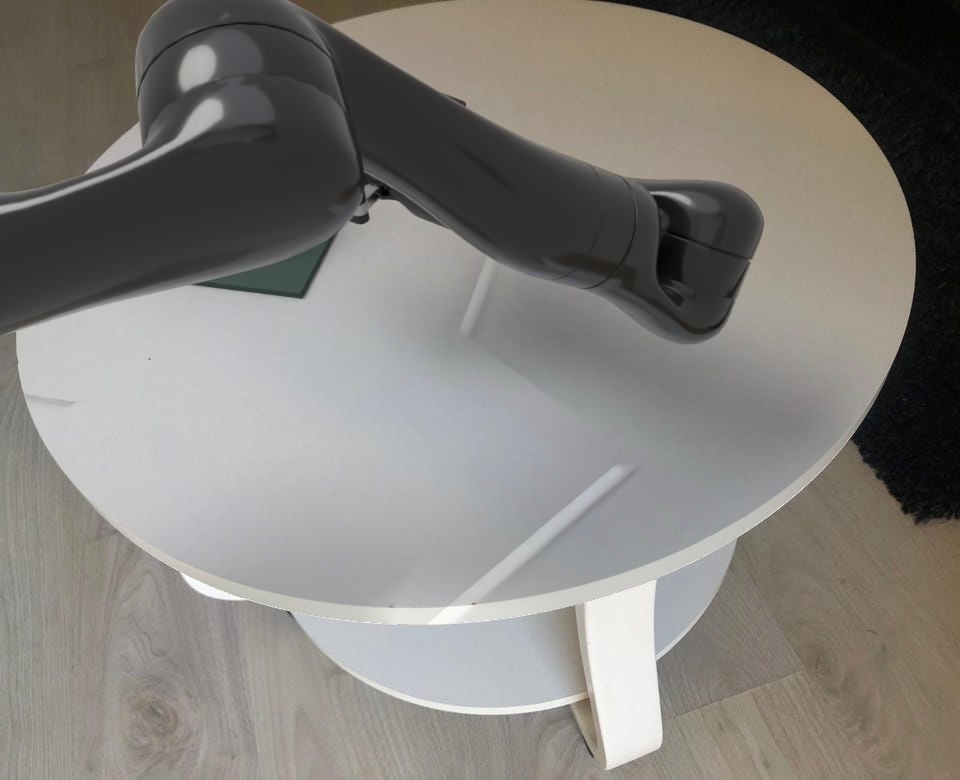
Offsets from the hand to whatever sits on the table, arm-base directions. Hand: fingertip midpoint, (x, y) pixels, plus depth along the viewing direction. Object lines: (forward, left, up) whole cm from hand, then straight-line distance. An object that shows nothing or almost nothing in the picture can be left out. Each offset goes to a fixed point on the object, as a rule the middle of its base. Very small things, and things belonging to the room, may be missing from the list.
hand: (311, 123), depth 78 cm
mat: (-10, +4, -16) cm, 20 cm away
